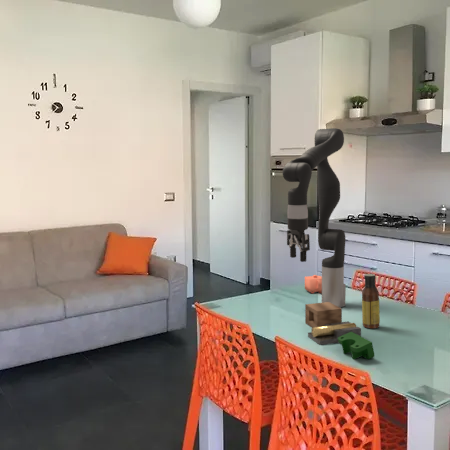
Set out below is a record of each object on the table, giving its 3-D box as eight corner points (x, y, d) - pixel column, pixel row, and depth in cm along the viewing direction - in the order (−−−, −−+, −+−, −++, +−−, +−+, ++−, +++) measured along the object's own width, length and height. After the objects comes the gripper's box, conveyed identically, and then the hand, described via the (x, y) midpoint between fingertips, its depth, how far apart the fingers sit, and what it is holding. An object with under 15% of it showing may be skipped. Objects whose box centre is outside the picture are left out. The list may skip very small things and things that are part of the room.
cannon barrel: (351, 329, 186) (352, 321, 186) (356, 333, 183) (357, 324, 183) (311, 334, 182) (311, 326, 181) (315, 338, 179) (315, 329, 178)
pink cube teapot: (317, 288, 256) (317, 271, 255) (327, 294, 245) (327, 276, 244) (302, 289, 255) (302, 272, 254) (311, 295, 243) (311, 278, 242)
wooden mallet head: (328, 320, 203) (328, 301, 202) (341, 328, 194) (341, 308, 193) (305, 323, 200) (305, 304, 199) (317, 331, 191) (317, 311, 190)
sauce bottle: (380, 325, 197) (380, 273, 194) (379, 330, 191) (380, 276, 189) (362, 323, 199) (362, 272, 197) (360, 328, 193) (361, 275, 191)
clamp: (344, 365, 170) (333, 338, 172) (360, 358, 172) (348, 332, 173) (362, 363, 159) (350, 335, 160) (378, 356, 161) (366, 328, 162)
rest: (347, 331, 189) (348, 321, 189) (361, 339, 181) (361, 328, 180) (307, 336, 185) (307, 325, 184) (319, 345, 176) (319, 333, 176)
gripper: (315, 218, 188) (316, 262, 190) (298, 214, 201) (298, 255, 204) (297, 219, 186) (297, 264, 188) (280, 215, 199) (281, 256, 201)
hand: (298, 259), depth 196 cm, fingers open, 8 cm apart
